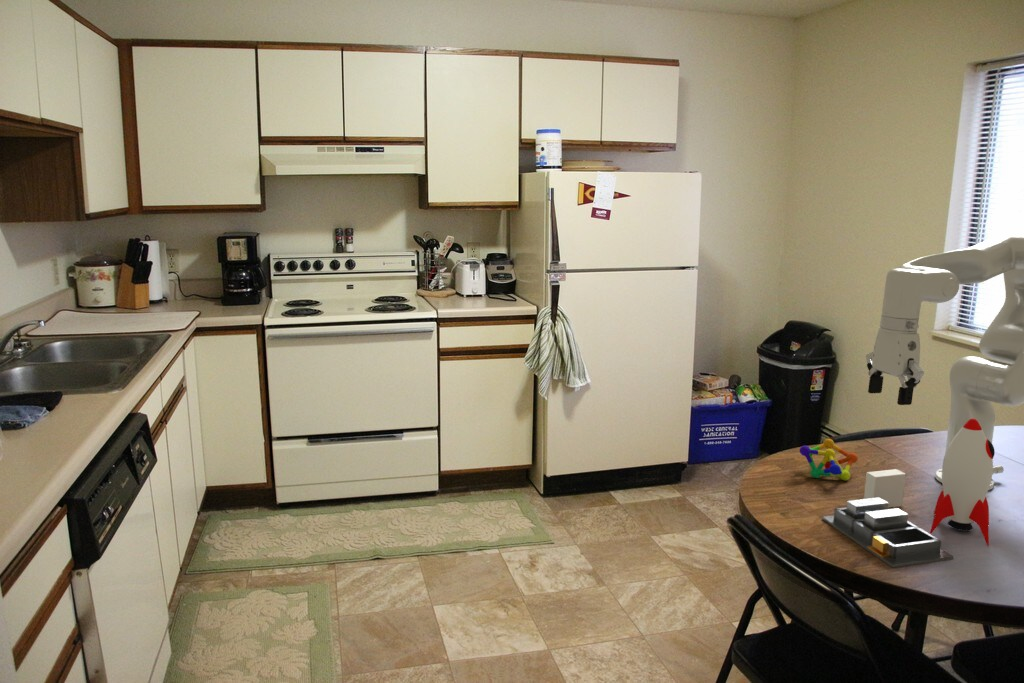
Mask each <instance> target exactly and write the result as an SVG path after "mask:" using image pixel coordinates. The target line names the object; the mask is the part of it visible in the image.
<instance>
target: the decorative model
mask: <svg viewBox="0 0 1024 683" xmlns="http://www.w3.org/2000/svg"><path fill="white" fill-rule="evenodd" d="M824 448H826V449H825V450H822V449H824ZM835 451H836V452H837V453H840V454H841V455H843V456H845V458H841V459H839V460H837V458H836V457H835V456H836V452H835ZM799 453H800V455H802V456H804V457H805V458H806V461H807V463H808V464H809V467H810V469H811V470H810V472H809V473H810V476H811V477H812V478H814V479H819V478H821V476H823V477H826V476H827V477H838V478H839V479H840V480H842V481H848V480H849V479H850V478H851V474H850V469H851V467H852V465H853V464H855V463H856V462H857V461H858V460H859V458H858V455H857V454H856V453H855V452H850V453H848V452H847V451H845V450H844V449H842V448H841V447H839V446H837V445H835V442H834V440H833V439H832V438H825V439H824V440H823V443H821V444H818V445H817V446H816V445H815V447H812V448H811V447H809V445H802V446H800V447H799ZM815 455H816V456H824V457H823V459H822V460H821V462H820V463H819V464H818V465H817V467H816V464H815V460H814V459H813V456H815ZM845 463H847V464H846V465H845V467H844V469H843V467H842V466H841V465H842V464H845ZM823 467H824V469H823Z"/></svg>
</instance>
